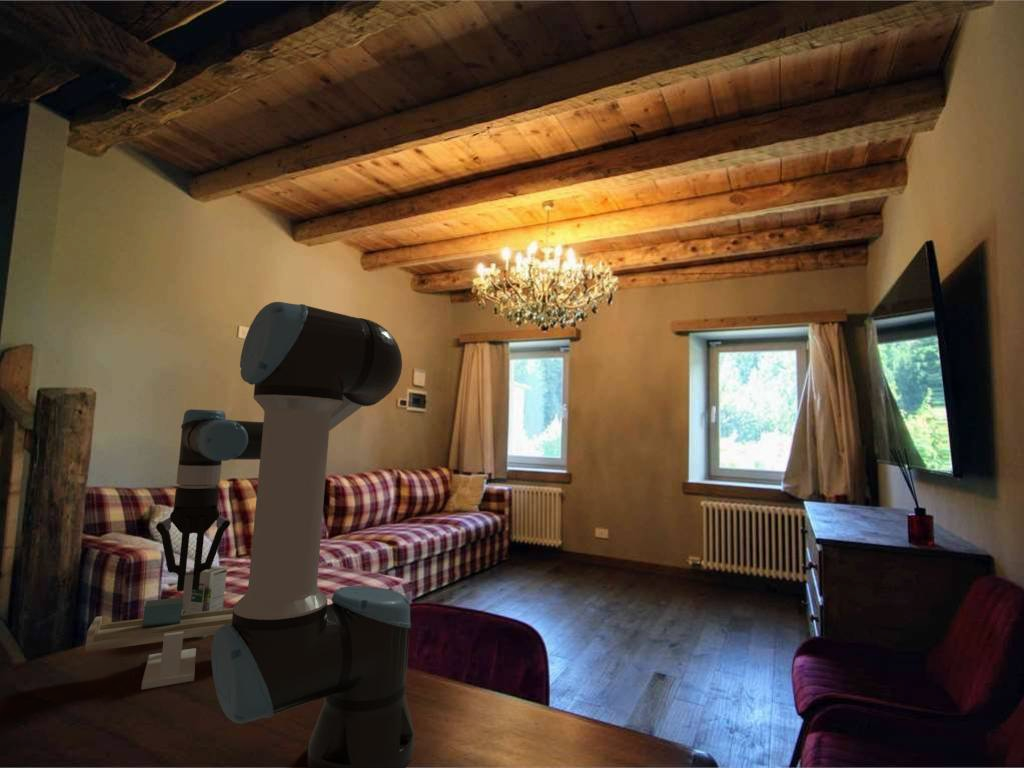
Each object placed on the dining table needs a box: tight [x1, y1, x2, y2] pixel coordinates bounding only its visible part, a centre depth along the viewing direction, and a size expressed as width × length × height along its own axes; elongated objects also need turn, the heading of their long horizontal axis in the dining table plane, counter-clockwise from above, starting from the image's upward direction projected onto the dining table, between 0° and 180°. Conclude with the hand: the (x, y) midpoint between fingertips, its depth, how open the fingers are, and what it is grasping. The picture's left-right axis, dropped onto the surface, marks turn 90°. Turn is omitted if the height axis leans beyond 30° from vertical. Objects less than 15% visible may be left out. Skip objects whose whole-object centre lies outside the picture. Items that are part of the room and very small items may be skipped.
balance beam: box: [84, 607, 234, 653], centre depth 99 cm, size 9×26×6 cm, turn 121°
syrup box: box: [184, 565, 228, 639], centre depth 118 cm, size 6×6×14 cm
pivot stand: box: [141, 631, 197, 691], centre depth 99 cm, size 13×8×9 cm, turn 31°
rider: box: [142, 596, 183, 629], centre depth 99 cm, size 4×6×4 cm, turn 120°
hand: (186, 607), depth 101 cm, fingers closed
